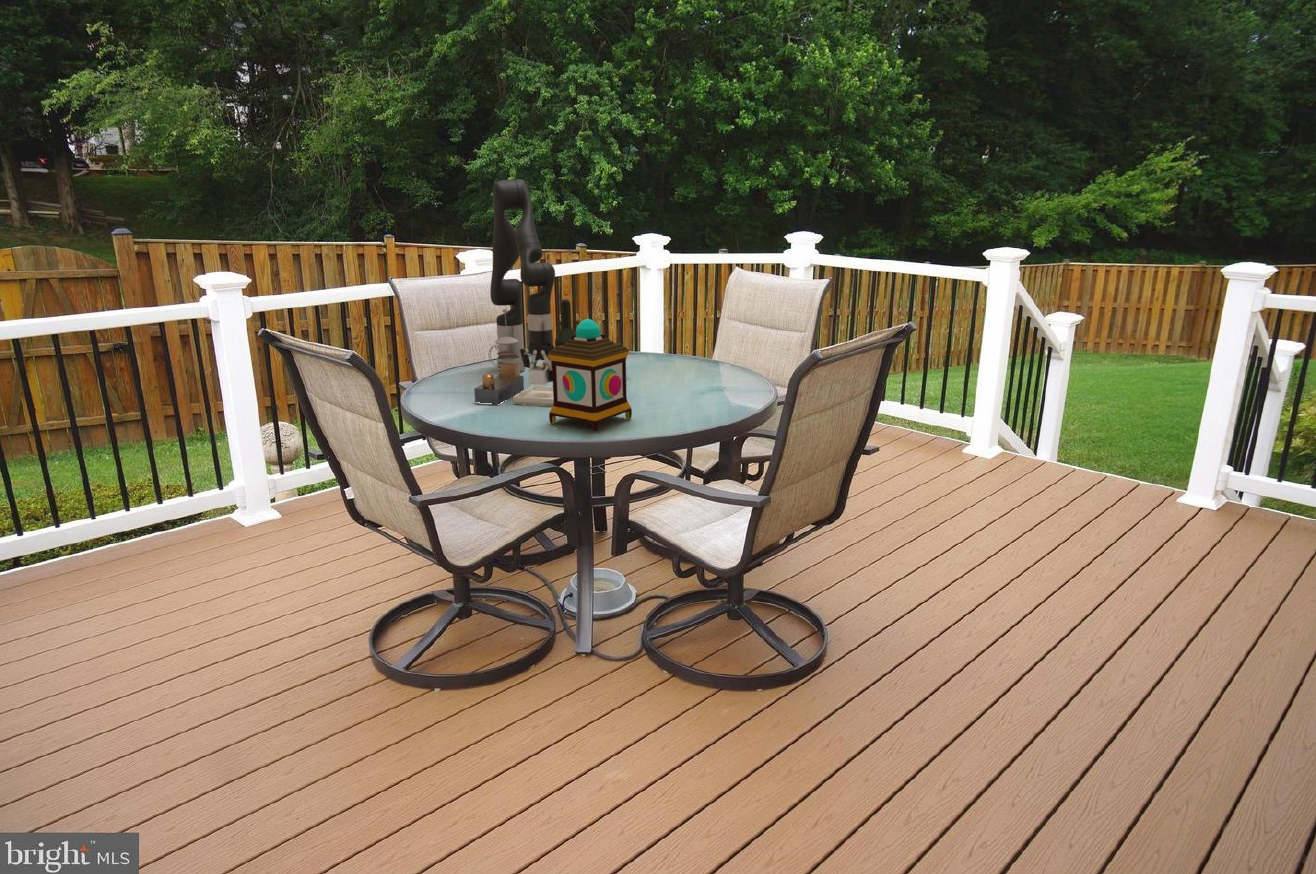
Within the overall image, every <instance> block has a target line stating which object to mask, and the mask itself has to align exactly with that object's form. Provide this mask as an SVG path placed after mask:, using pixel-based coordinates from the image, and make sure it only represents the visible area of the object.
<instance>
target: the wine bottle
mask: <svg viewBox="0 0 1316 874" xmlns="http://www.w3.org/2000/svg"><path fill="white" fill-rule="evenodd" d="M559 303H560V322H561V323H560V324H561V325H560V326H561V327H560V329H559V331H558V334H557V335H556V337H555V340H554V343H555V344H554V348H555V347H556V346H560V345H563V344H564V343H566V342H567V341H568V340H570V339H571V337H572V336H576V331H574V329H573V327H572V314H571V313H572V312H571V311H572V310H571V301H570V298H562V299H561V301H560V302H559Z"/></svg>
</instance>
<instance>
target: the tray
mask: <svg viewBox="0 0 1316 874" xmlns="http://www.w3.org/2000/svg"><path fill="white" fill-rule="evenodd" d="M512 402H513V403H512V404H522V405H521V406H529V405H535V406H534V407H545V406H547V408H552V406H553V402H554V399H553V385H536V384H531V386H529V387H526V388H524V391H522V392H520V393H519V394H517V395H515V396H513V397H512ZM524 404H525V405H524Z"/></svg>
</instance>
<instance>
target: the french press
mask: <svg viewBox="0 0 1316 874" xmlns="http://www.w3.org/2000/svg"><path fill="white" fill-rule="evenodd" d="M508 311H509V309H507V308H503V309H502V313H503V314H504V313H505V322H506V312H508ZM518 342H519V341H518V340H517V339H515V338H512V337H508V336H507V329H506V337H502V338H500V339H498V338H497V339H496V340H495V341H494V343H495V345H493V346H491V347H490V348H489V350H488V353H487V354H488V360H489V362H490V364H491V365H493V366H494V367H496V375H497V376H499V375H501V365H502V364H504V363H513V364H518V366H519V376H521V372H520V365H519V356H516V355H517V354H518V352H517V351H508V345H510V344H516V343H518ZM498 344H501V345H507V351H501V352H497V355H498V356H497V358H496V363H495V361H494V360H493V359H492V353H491V352H492V350H493V348H494V349H495V350H497V351H498ZM499 355H500V356H499ZM506 358H512V359H506ZM504 359H506V360H504ZM497 376H496V377H497Z"/></svg>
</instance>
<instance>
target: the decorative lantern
mask: <svg viewBox="0 0 1316 874" xmlns="http://www.w3.org/2000/svg"><path fill="white" fill-rule="evenodd" d="M575 334H576V336H572V337H571V339H570V340H568V341H567V342H566V343H564V344H563V345H560V346H556V347H555V346H554V349H553V350H551V351H550V353H548V357H549V359H550V360H551V363H552V376H553V381H552V386H553V399H554V402H553V406H552V407H550V411H549V413H548V418H549V423H550V424H551V425H555V424H556V419H557V417H559V418H566V419H569V420H576V421H581V422H586V423H590V424H591V426H592V431H593V433H598V431H599V425H600V423H601V422H603V421H606V420H610V419H612V418H615V417H618V416H619V415H622V414H625V415H624V416H625V418H626V419H627V420H631V419H632V415H633V413H632V407H631V405H630V402H629V401H628V398H627V379H626V377H627V358H628V355H629V353H630V349H628V348H627V346H625V345H623V344H622V343H620V342H619V343H618V342H614V341H613V340H610V338H608V337H606V335H605V334H601V327H600V326H599V325H598V324H597V323H596V322H595V321H594V320H592V319H591V318H586V319H583V320H582V321H581V322H580V323H579V324H578V325H577V326H576V329H575Z"/></svg>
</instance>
